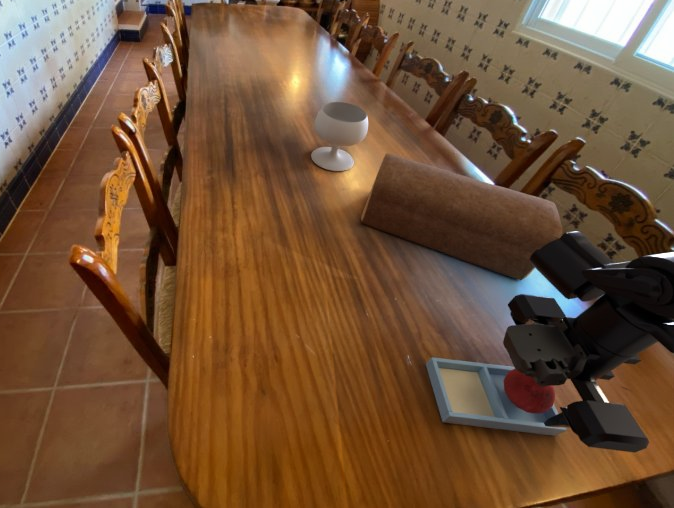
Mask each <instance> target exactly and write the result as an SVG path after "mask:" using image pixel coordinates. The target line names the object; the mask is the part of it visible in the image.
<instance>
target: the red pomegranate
mask: <svg viewBox="0 0 674 508" xmlns="http://www.w3.org/2000/svg"><path fill="white" fill-rule="evenodd" d="M503 381H504V391H505V393H506V395H507V397H508V398H509V400H510V401H511V402H512V403H513V404H514V405H515V406H517V407H518V408H519V409H521V410H523V411H525V412H528V413H537V414H540V413H544V412H546V411H547V410H549V409H550V408H551V407H552V406H553V404H554V403H555V399H556V390H555V387H554V386H540V385H538V384H536V382H535V380H534V379H533V378H532V377H527V376H526V375H525V374H524V373H521V372H519V371H518V370H516V369H513V370H511V371H509V372H508V373H507V375H506V377H505V378H504V380H503ZM554 405H555V404H554Z"/></svg>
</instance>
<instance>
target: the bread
mask: <svg viewBox="0 0 674 508" xmlns="http://www.w3.org/2000/svg"><path fill="white" fill-rule="evenodd" d="M360 220H361V223H362V224H363V225H366V226H368V227H372V228H374V229H377V230H379V231H382V232H385V233H388V234H391V235H394V236H397V237H399V238H402V239H404V240H407V241H410V242H412V243H416V244H418V245H421V246H423V247H426V248H428V249H432V250H435V251H438V252H441V253H443V254H445V255H448V256H451V257H453V258H456V259H458V260H461V261H465V262H467V263H469V264H473V265H476V266H479V267H482V268H485V269H488V270H489V271H493V272H495V273H498V274H501V275H504V276H507V277H510V278H513V279H516V280H519V281H522V280H524V279H526V278H528V277H529V275H531V274H532V272H533V271H534V270H535V269H536V268H535V267H534V266H533V265H532V264H531V263H530V261H529V259H530V257H531V255H532V254H533V252H534V251H535V250H537V249H540V248H542V247H543V246H545V245H546V244H548V243H550V242H552V241H554V240H556V239H559V238H560V237H561V236H562V235H563V225H562V222H561V221H562V220H561V217H560V213H559V210H558V207H557V205H556V203H555V202H554V201H551V200H548V199H545V198H542V197H538V196H535V195H531V194H527V193H525V192H521V191H517V190H514V189H510V188H507V187H504V186H500V185H496V184H492V183H489V182H485V181H483V180H479V179H476V178H472V177H469V176H466V175H462V174H458V173H456V172H455V173H454V172H451V171H449V170H445V169H443V168H439V167H436V166H432V165H429V164H425V163H422V162H419V161H416V160H412V159H410V158H406V157H402V156H399V155H394V154H392V153H385V154H384V157H383V158H382V162H381V163H380V166H379V168H378V170H377V173H376V176H375V179H374V181H373V184H372V186H371V189H370V191H369V195H368V197H367V200H366V202H365V205H364V208H363V210H362V213H361V216H360Z"/></svg>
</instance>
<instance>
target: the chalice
mask: <svg viewBox="0 0 674 508" xmlns="http://www.w3.org/2000/svg"><path fill="white" fill-rule="evenodd" d="M313 125H314V132H315V133H316V134H317V136H318V137H319V138H320V139H321V140H322V141H324V142H326V143H327V144H330V146H322V147H318V148H315V149H314V150H313V151H312V152H311V155H310V158H311V160H312V162H314V164H315V165H317V166H318V167H320V168H322V169H325V170H328V171H332V172H344V171H348V170H350V169H351V168H353V166H354V163H355V161H354V158H353V156H352V155H350V154H349V153H348V152H347V151H345V150H343V149H340V148H342V147H352V146H355V145H358V144H359V143H361V142H362V141H364V139H365V138H366V137H367V134H368V130H369V118H368V114H367V112H366V110H364V108H361V107H360V106H358V105H355V104H352V103H350V102H349V103H348V102H344V101H333V102H328V103H326V104H324V105H323V106H322V107H321V108H320V109H319V110H318V113H317V115H316V117H315V120H314V124H313Z"/></svg>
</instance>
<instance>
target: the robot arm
mask: <svg viewBox="0 0 674 508" xmlns="http://www.w3.org/2000/svg"><path fill="white" fill-rule="evenodd" d="M529 261H530V263H531V264H532V265H533V266H534V267H535V268H534V269H536V270H537V272H539V273H540V274H541V275H542V276H543V277H544V278H545V280H547V281H548V283H550V284H551V285H552V287H554V288H555V289H556V291H558V292H559V293H560V294H561V295H562V296H563V297H564V298H565V299H567V300H573V299H578V300H579V301H581V302H583V303H585V302H586V303H587V302H590V301H593V300H595V299H596V300H595V301H594V302H592V303H591V305H589V306H588V307H587V308H585V310H583V311H582V312H581V313H579V314H578V315H577V316H576V317H574V316H567V315H566V314H565V312H564V311H563V309H562V307H561V306H560V304H559V303H558V301H557V299H555V297H550V296H543V295H542V296H541V295H533V294H525V293H520V294H517V295H515V296H514V297H513V298H512V299H511V300H510V301H509V302H508V303H507V307H508V308H509V311H510V312H509V313H510V314H509V315H510V317H511V319H512V321H513V323H514V324H512V325H508V326H507V327H506V331H505V333H504V337H503V340H502V345H503V348H504V349H505V350H506V352H507V354H508V357H509V358H510V360H511V363H512V365H513V367H515V369H516V370H518V371H519V372H521V373H524V374H525V375H526V376H527V377H532V378H533V379H534V380H535V382H536V384H538V385H540V386H553V387H554V386H563V385H565V384H566V382H567V380H570V381H571V383H572V384H573V387H574V388H575V390H576V392H577V394H578V395H579V396H580V398H581V400H577V401H573V402H570V403H569V404H568V405H566V407H565V406H559V409H560V411H561V412H560V413H559V412H558V414H557V415H555V416H553V417H551V418H549V419H547V420H546V421H545V422H544V424H545V426H548V427H566V428H570V430H571V432H573V433H574V434H575V435H576V436H577V437H578V438H579V441H581V442H582V443H583V444H584V445H586V446H587V447H588V448H593V449H594V448H595V449H601V450H602V449H603V450H611V451H619V452H626V453H627V452H628V453H637V452H640V451H642V450H645V449H647V448H648V446H649V444H650V441H649V440H650V439H649V438H648V437H647V435H646V434H645V432H644V431H643V429H642V428H641V427H640V425H639V423H638V422H637V420H636V419H635V417H634V416H633V414H632V413H631V412H630V410H629V408H628V407H627V406H626V404H625V403H624V404H622V403H615V402H610V401H609V400H608V398H607V396H606V395H605V394H604V392H603V390H602V388H601V387H600V385H599V384H598V382H597V381H598V380H604V381H610V380H612V379H614V378H615V377H616V376H615V374H614V373H613V370H615V369H617V368H618V367H620V366H621V365H623V364H626V365H627V364H628V365H637V364H638V363H640V362H641V361H642V359H641V358H640V356H639V354H640V353H643V352H644V351H646V350H648V349H649V348H650V347H652V346H653V345H655V344H656V343H659V344H661V345H662V346H663V347H664V349H666V350H667V351H668V352H670V353H671V354H674V251H671V252H664V253H663V252H662V253H657V254H649V255H642V256H639V257H637V258H634V259H632V260H630V261H624V262H617V263H616V262H615V261H614V260H613V259H611V258H610V257H609V256H608V255H606V254H605V253H604V252H602V251H601V250H600V249H599V248H597V247H596V246H595V245H594V244H593V243H592V242H591V241H590V240H589V239H588V237H587V236H585V235H584V234H583V233H582V232H580V231H579V230H578V231H577V230H576V231H567V232H563V233H562V235H561V237H560V238H559V239H556V240H554V241H552V242H550V243H548V244H546V245H545V246H543V247H542V248H540V249H537V250H535V251H534V252H533V254H532V255H531V257H530V259H529Z"/></svg>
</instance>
